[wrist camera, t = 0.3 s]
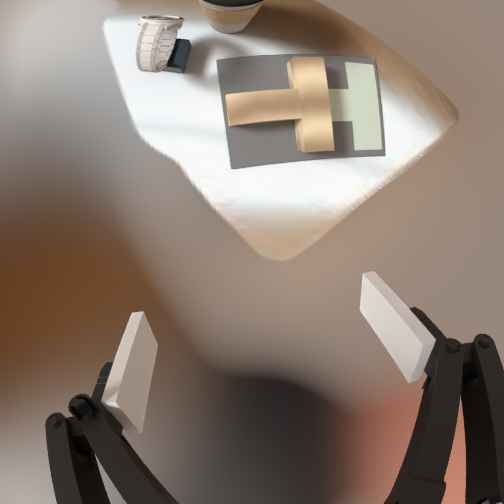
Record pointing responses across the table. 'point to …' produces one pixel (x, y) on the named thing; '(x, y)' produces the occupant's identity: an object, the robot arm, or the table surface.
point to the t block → (291, 105)
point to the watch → (161, 45)
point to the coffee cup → (230, 13)
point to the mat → (283, 132)
